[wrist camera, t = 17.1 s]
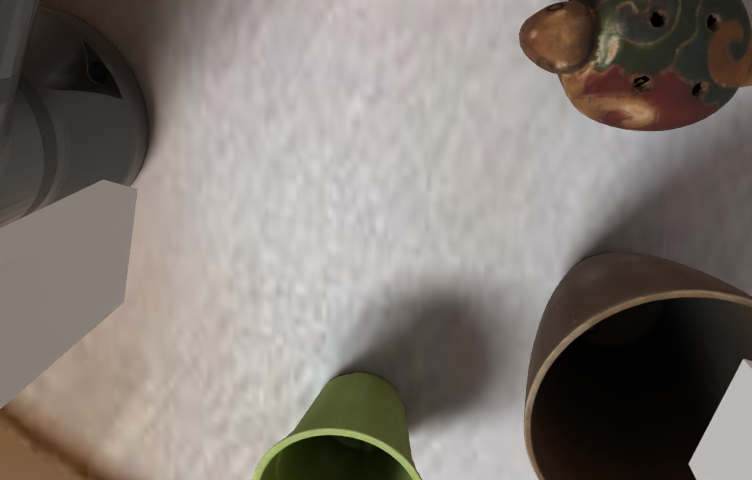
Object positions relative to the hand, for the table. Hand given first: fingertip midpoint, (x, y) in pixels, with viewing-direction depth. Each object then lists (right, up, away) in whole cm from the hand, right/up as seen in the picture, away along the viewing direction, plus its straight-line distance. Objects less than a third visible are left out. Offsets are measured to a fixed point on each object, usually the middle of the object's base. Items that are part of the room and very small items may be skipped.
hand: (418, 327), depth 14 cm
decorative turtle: (+15, +15, +28) cm, 35 cm away
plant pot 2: (+16, -2, +34) cm, 38 cm away
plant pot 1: (-2, -12, +40) cm, 41 cm away
